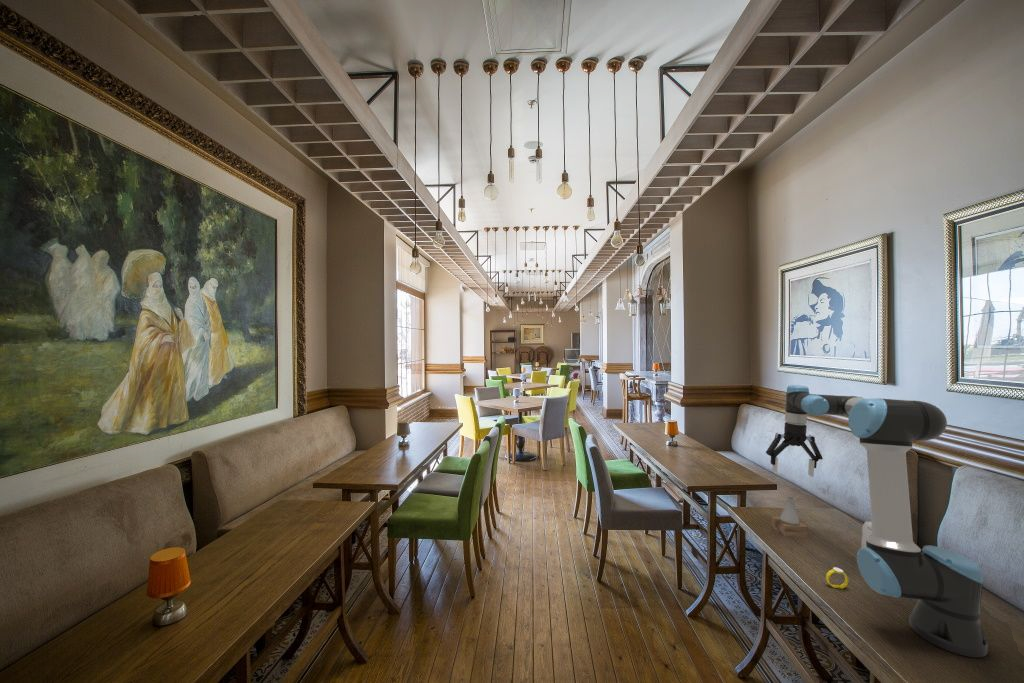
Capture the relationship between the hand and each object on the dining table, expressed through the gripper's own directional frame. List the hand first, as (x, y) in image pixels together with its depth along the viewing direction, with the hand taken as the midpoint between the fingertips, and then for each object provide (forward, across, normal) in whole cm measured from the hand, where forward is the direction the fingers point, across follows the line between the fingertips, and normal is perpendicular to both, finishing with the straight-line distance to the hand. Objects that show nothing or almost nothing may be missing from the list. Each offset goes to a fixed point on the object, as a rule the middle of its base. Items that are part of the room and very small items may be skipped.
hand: (792, 474), depth 175 cm
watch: (+25, +2, +38) cm, 45 cm away
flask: (+20, 0, 0) cm, 20 cm away
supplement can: (+25, -19, +21) cm, 38 cm away
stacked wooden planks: (+25, 0, 0) cm, 25 cm away
